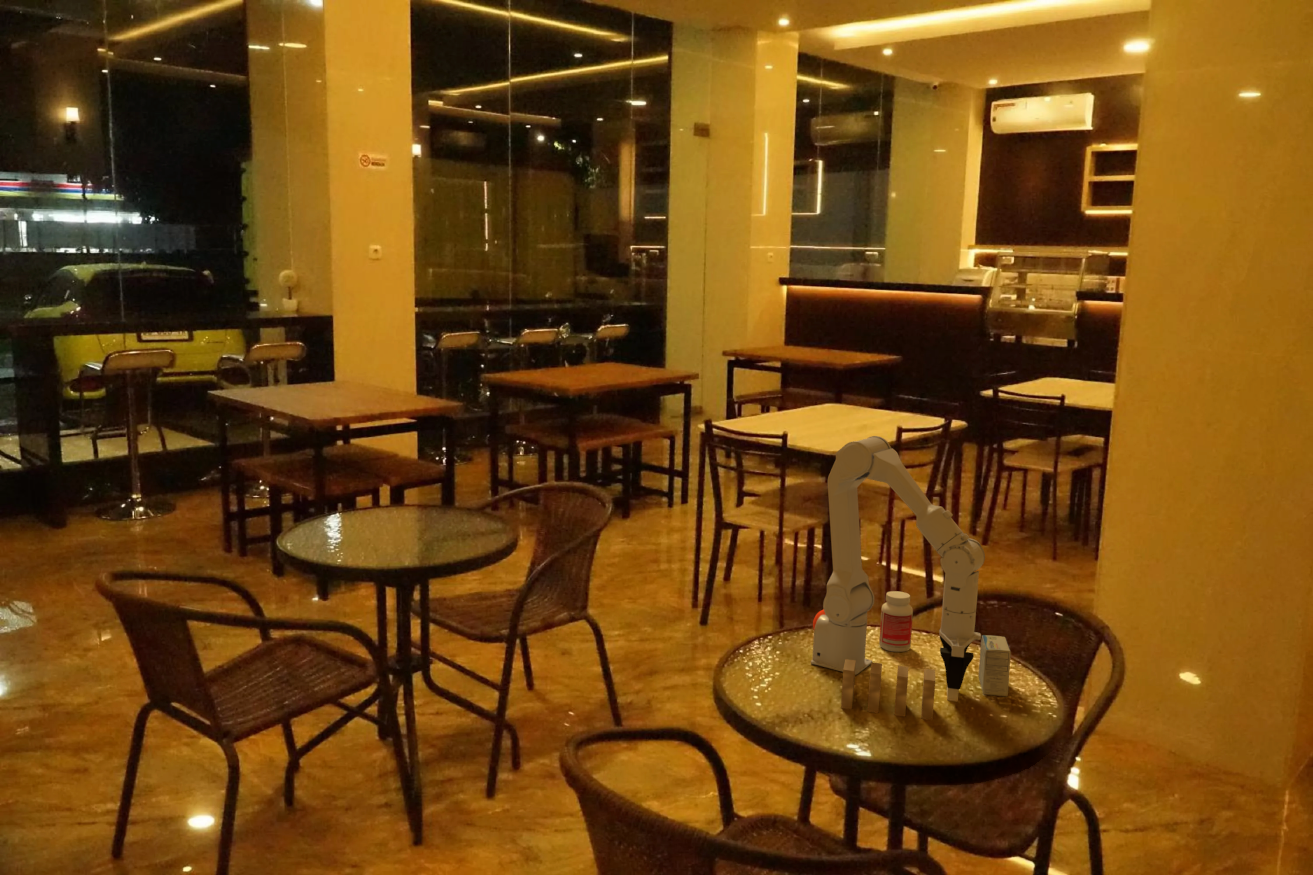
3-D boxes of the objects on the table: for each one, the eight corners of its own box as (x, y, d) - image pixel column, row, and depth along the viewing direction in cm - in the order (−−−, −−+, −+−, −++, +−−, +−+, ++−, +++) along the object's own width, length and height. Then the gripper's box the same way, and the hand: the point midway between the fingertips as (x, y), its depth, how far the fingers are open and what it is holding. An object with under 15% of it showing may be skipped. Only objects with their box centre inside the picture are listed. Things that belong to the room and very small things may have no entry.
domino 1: (840, 707, 179) (843, 669, 178) (843, 696, 184) (845, 659, 183) (851, 709, 179) (853, 670, 178) (853, 697, 184) (855, 660, 183)
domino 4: (921, 718, 176) (924, 679, 175) (921, 706, 181) (924, 668, 180) (932, 719, 176) (935, 680, 174) (932, 707, 180) (935, 669, 179)
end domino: (947, 700, 184) (950, 662, 183) (946, 689, 189) (949, 652, 188) (957, 701, 184) (960, 663, 182) (956, 690, 188) (959, 653, 187)
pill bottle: (915, 651, 206) (919, 598, 205) (887, 653, 205) (890, 600, 203) (901, 640, 212) (905, 588, 211) (873, 642, 211) (877, 590, 209)
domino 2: (867, 711, 178) (870, 672, 177) (869, 699, 183) (871, 662, 182) (878, 712, 178) (880, 674, 177) (879, 701, 183) (882, 663, 181)
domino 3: (894, 714, 177) (897, 676, 176) (895, 703, 182) (897, 665, 181) (905, 716, 177) (907, 677, 176) (905, 704, 182) (908, 666, 180)
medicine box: (1007, 697, 186) (1011, 651, 184) (981, 694, 187) (985, 648, 185) (1002, 680, 193) (1006, 636, 192) (977, 678, 194) (981, 633, 193)
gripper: (984, 624, 175) (978, 700, 178) (980, 598, 189) (974, 668, 192) (941, 619, 177) (935, 694, 179) (940, 594, 191) (935, 664, 193)
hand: (953, 681), depth 186 cm, fingers open, 6 cm apart
